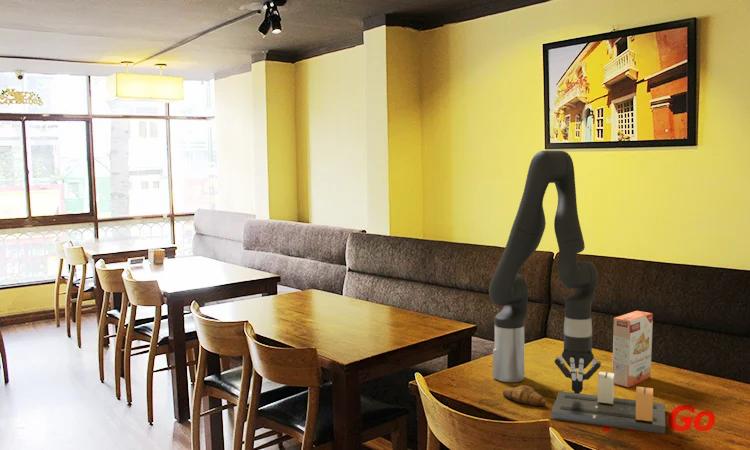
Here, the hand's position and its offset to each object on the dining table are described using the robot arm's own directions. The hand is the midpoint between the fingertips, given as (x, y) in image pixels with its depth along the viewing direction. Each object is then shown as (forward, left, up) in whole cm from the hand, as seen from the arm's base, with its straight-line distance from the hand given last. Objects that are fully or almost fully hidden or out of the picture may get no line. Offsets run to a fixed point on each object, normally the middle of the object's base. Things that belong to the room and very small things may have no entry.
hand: (577, 392), depth 183 cm
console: (+9, -4, -4) cm, 10 cm away
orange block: (+18, -9, -1) cm, 20 cm away
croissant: (-15, -3, -4) cm, 15 cm away
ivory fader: (+8, 0, -1) cm, 8 cm away
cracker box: (+14, +26, -4) cm, 29 cm away
